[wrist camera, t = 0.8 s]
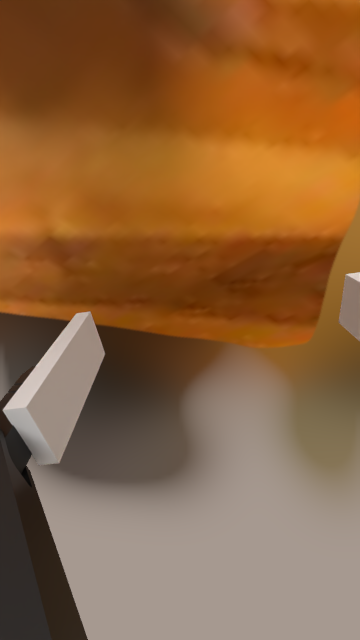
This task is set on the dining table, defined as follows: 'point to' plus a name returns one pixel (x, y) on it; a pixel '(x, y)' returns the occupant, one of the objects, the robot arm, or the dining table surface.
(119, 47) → the dining table surface
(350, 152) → the dining table surface
